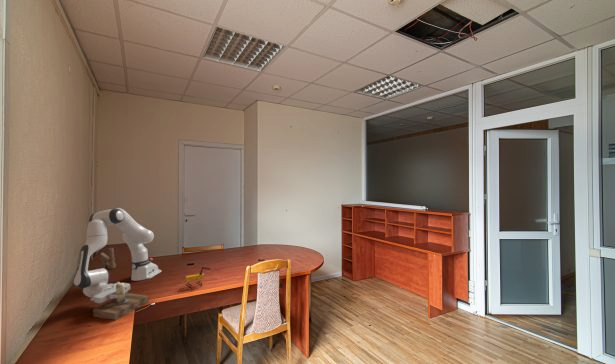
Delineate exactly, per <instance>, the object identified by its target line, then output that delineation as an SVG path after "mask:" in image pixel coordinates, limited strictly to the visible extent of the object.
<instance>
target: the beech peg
mask: <svg viewBox="0 0 615 364" xmlns="http://www.w3.org/2000/svg"><path fill="white" fill-rule="evenodd" d="M124 283H125V282H120V283H119V284H116V294H118V297H117V301H116V302H115V303H114V305H115V306H119V305H123V304H126V303H127V302H128V301H129V299H125V287H124Z"/></svg>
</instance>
